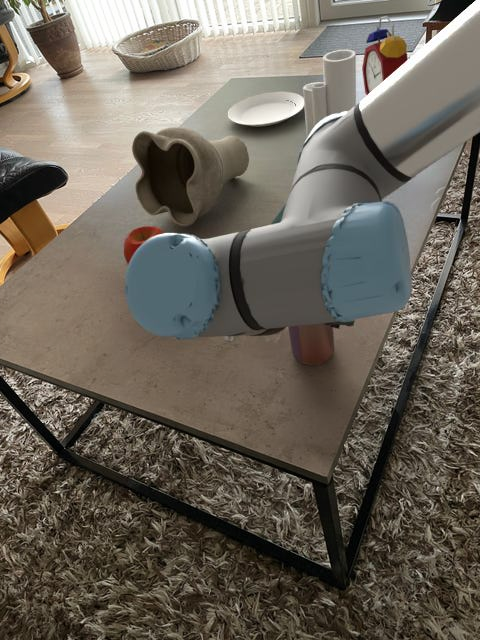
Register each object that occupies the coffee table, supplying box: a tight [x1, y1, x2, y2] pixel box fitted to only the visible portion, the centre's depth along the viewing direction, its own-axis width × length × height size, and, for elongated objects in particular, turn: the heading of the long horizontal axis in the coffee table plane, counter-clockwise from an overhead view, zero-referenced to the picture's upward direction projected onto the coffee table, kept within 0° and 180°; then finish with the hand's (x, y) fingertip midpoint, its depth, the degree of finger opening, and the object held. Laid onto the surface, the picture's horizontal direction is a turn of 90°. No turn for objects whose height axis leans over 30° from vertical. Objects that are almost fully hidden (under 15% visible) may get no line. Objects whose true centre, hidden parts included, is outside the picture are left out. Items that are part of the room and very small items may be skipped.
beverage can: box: [287, 323, 335, 366], centre depth 64 cm, size 6×6×15 cm
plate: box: [227, 91, 305, 128], centre depth 130 cm, size 21×21×2 cm
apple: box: [123, 226, 166, 266], centre depth 84 cm, size 9×8×11 cm
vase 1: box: [131, 126, 250, 227], centre depth 100 cm, size 22×22×28 cm
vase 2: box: [302, 49, 357, 139], centre depth 104 cm, size 11×7×20 cm, turn 71°
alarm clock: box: [361, 15, 411, 96], centre depth 117 cm, size 15×9×20 cm, turn 10°
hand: (319, 307), depth 68 cm, fingers open, 6 cm apart
